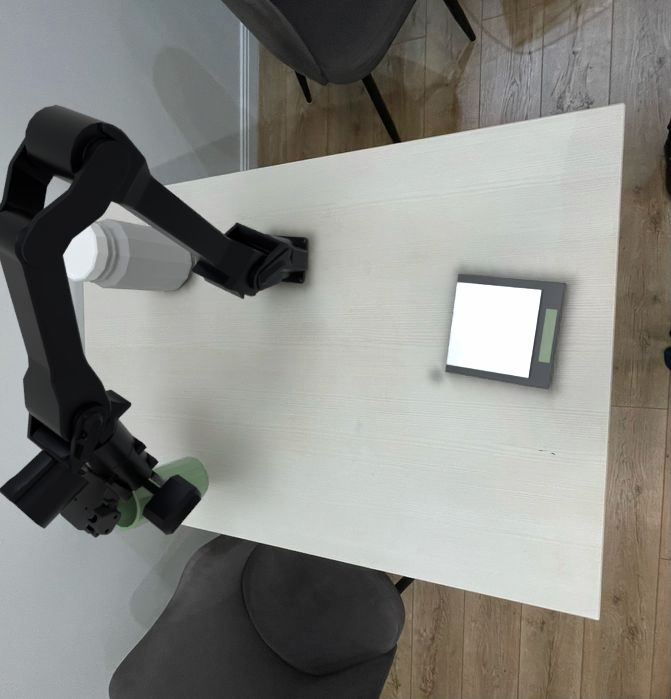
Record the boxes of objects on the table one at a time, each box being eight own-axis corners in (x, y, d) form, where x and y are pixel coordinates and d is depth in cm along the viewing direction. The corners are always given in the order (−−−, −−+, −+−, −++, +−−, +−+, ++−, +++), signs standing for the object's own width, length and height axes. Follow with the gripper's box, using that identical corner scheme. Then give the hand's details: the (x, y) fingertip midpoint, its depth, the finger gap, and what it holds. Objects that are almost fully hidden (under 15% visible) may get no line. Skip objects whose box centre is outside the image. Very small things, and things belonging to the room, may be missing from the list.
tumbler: (178, 499, 82) (107, 530, 71) (172, 456, 82) (100, 480, 71) (211, 500, 79) (142, 532, 68) (205, 455, 79) (135, 479, 68)
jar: (153, 229, 89) (53, 210, 73) (198, 233, 85) (102, 214, 69) (148, 288, 91) (49, 282, 75) (193, 295, 86) (97, 290, 70)
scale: (449, 370, 68) (443, 372, 65) (461, 274, 66) (456, 273, 64) (550, 387, 62) (547, 390, 60) (566, 283, 61) (564, 282, 59)
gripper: (4, 462, 63) (68, 511, 75) (108, 552, 55) (160, 590, 68) (79, 393, 68) (127, 449, 80) (183, 467, 60) (219, 516, 73)
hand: (156, 499), depth 75 cm, fingers closed on tumbler, 7 cm apart
